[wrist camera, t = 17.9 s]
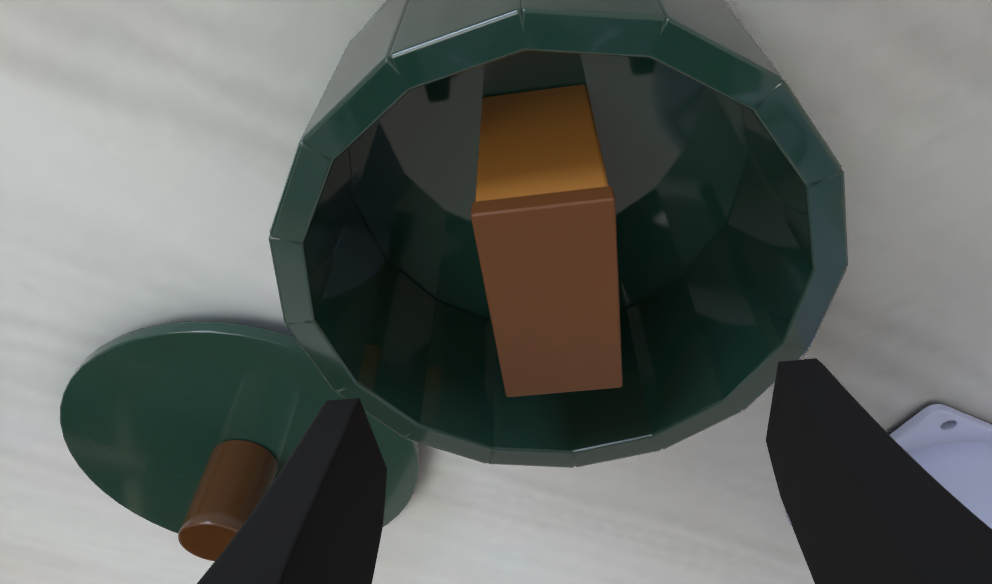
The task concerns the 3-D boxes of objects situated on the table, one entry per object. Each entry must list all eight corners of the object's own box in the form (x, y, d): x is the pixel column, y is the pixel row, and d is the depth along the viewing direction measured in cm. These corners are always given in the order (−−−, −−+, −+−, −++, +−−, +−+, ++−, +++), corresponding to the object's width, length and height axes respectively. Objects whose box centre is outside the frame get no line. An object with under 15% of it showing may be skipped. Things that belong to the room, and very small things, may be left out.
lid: (476, 383, 25) (470, 493, 21) (360, 556, 32) (341, 658, 28) (92, 254, 21) (10, 359, 18) (62, 480, 29) (0, 586, 25)
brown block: (599, 248, 20) (623, 388, 16) (506, 258, 20) (505, 398, 16) (588, 80, 17) (615, 198, 13) (479, 94, 17) (470, 214, 13)
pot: (868, 71, 17) (985, 186, 13) (614, 371, 24) (637, 511, 20) (424, -177, 14) (388, -133, 10) (278, 248, 21) (219, 383, 17)
